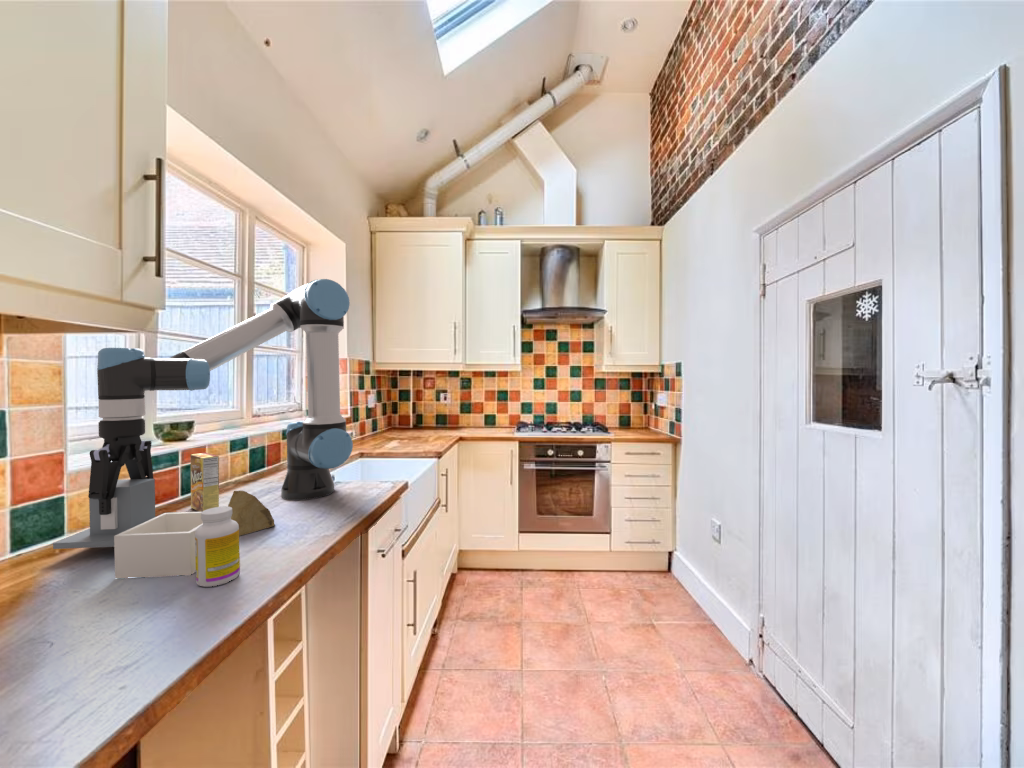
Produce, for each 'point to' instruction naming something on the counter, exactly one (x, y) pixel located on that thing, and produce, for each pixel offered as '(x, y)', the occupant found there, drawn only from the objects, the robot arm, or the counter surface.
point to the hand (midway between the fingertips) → (124, 522)
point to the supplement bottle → (217, 547)
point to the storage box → (158, 547)
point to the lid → (131, 512)
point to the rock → (249, 513)
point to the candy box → (204, 481)
